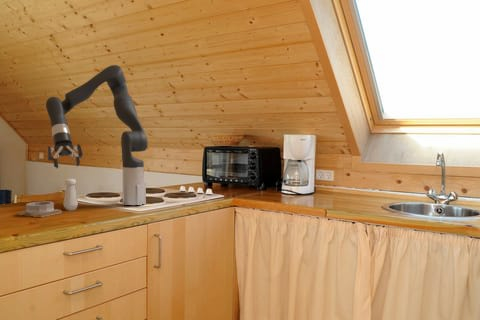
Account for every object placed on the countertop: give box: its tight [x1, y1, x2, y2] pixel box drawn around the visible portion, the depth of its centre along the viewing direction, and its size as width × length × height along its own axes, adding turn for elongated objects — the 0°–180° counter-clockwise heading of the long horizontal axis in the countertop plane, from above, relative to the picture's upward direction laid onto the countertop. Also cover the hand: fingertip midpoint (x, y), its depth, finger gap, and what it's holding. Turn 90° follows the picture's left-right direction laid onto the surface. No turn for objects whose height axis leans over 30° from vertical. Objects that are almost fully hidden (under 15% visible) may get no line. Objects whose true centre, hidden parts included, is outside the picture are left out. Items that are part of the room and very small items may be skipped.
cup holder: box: [17, 200, 62, 218], centre depth 159 cm, size 12×10×4 cm
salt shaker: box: [62, 178, 79, 211], centre depth 169 cm, size 6×6×13 cm
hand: (67, 166), depth 178 cm, fingers open, 8 cm apart
